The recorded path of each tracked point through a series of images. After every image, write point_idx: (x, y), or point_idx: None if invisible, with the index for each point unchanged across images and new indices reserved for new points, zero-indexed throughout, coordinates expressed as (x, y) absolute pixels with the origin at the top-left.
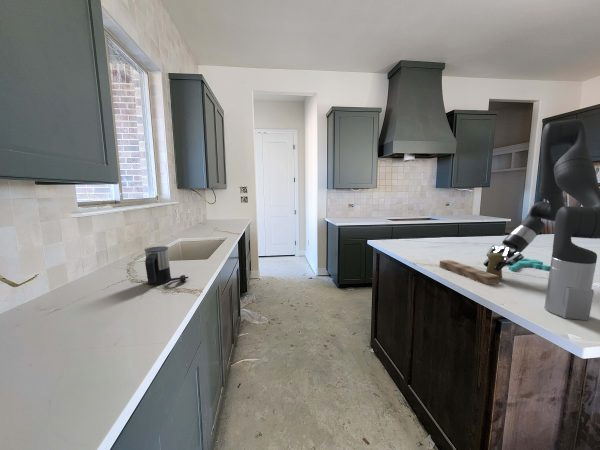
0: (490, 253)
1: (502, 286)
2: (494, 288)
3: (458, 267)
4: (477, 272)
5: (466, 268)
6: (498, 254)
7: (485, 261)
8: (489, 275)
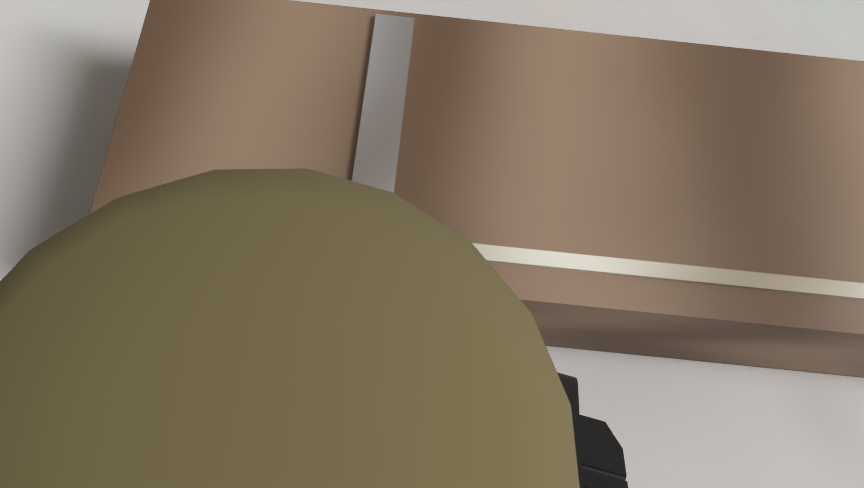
0: (425, 253)
1: (23, 212)
2: (61, 32)
3: (797, 54)
4: (431, 89)
5: (699, 129)
6: (17, 349)
7: (578, 427)
8: (208, 117)
